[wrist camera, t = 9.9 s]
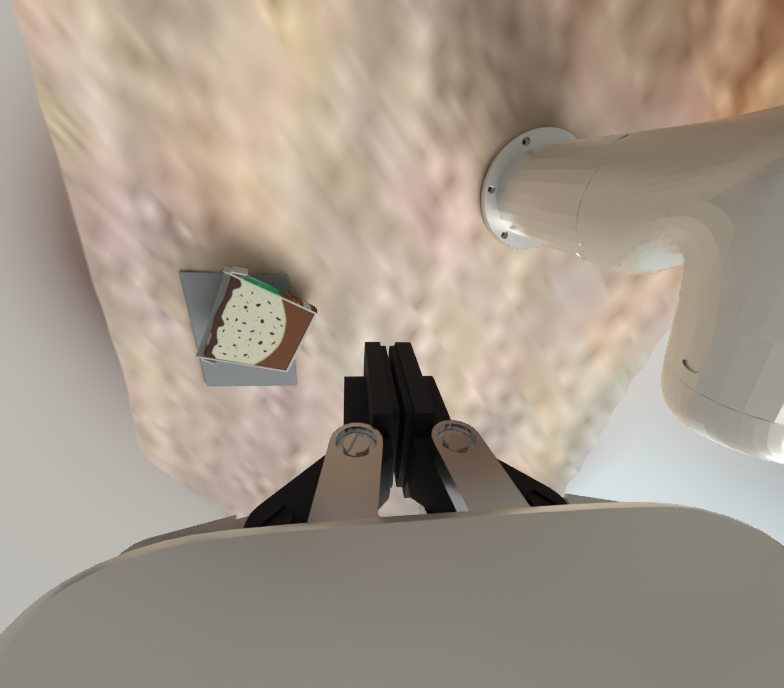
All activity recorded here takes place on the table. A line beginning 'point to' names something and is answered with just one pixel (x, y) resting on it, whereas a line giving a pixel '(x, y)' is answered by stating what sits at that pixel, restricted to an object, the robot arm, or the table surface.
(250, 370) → the mat
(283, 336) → the food container
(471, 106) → the table surface
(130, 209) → the table surface
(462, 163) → the table surface
